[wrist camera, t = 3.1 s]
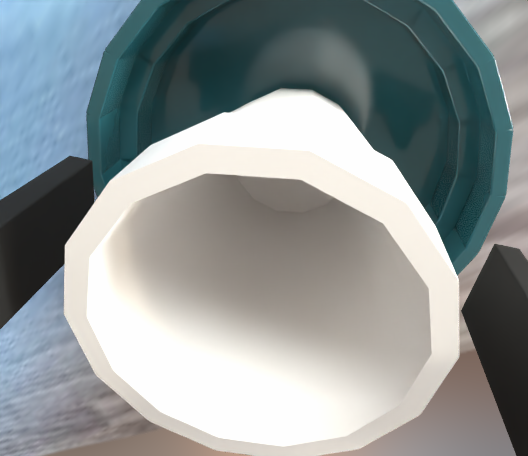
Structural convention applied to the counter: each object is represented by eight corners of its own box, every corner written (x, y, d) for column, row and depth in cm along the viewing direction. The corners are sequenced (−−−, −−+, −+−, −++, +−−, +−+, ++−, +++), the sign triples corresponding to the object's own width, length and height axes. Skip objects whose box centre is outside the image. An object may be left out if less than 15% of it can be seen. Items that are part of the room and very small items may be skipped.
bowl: (129, 255, 27) (94, 301, 23) (130, -86, 18) (75, -105, 14) (408, 313, 26) (422, 371, 22) (545, -12, 18) (606, -11, 14)
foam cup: (204, 227, 24) (95, 433, 13) (194, 49, 20) (16, 132, 9) (377, 241, 23) (420, 478, 12) (408, 57, 19) (521, 163, 8)
